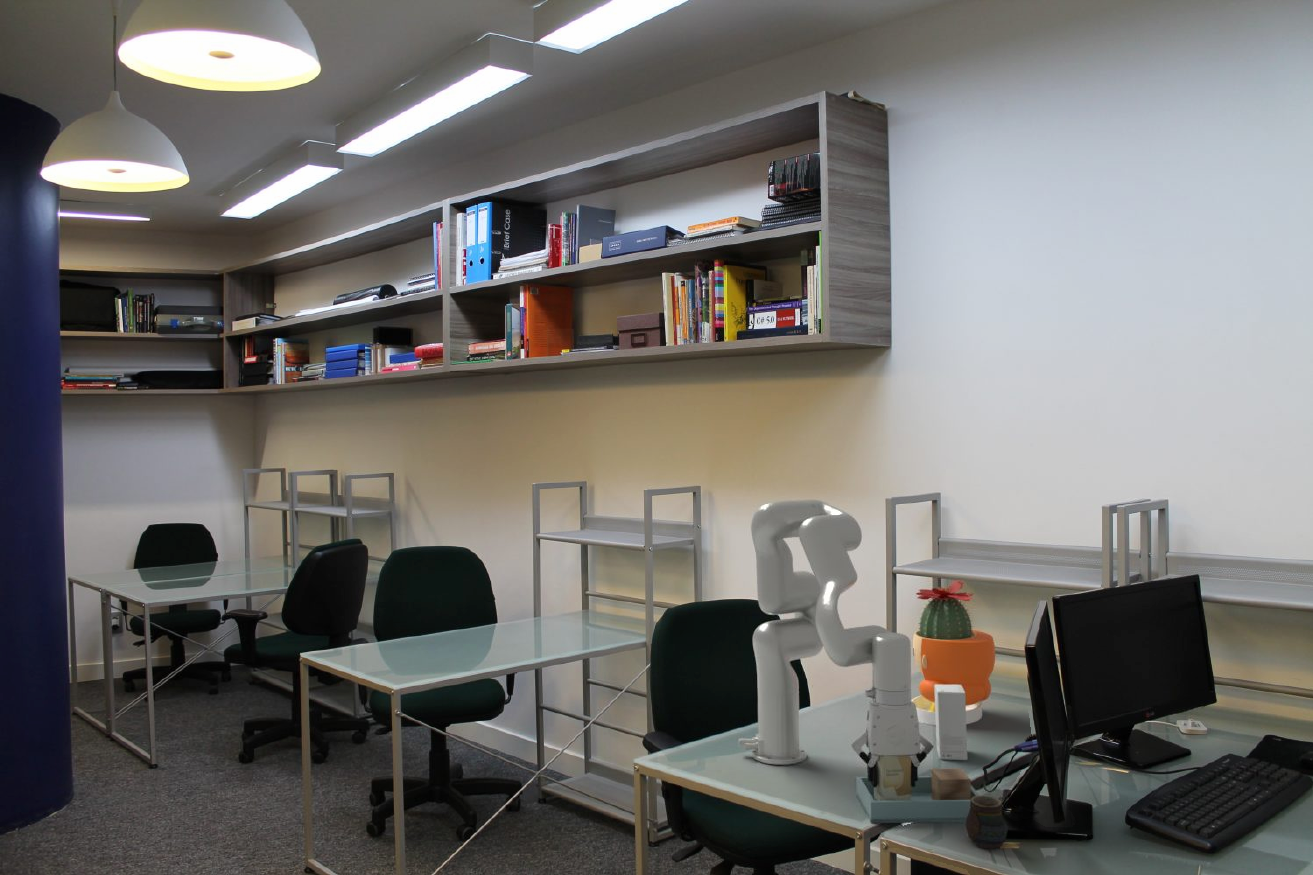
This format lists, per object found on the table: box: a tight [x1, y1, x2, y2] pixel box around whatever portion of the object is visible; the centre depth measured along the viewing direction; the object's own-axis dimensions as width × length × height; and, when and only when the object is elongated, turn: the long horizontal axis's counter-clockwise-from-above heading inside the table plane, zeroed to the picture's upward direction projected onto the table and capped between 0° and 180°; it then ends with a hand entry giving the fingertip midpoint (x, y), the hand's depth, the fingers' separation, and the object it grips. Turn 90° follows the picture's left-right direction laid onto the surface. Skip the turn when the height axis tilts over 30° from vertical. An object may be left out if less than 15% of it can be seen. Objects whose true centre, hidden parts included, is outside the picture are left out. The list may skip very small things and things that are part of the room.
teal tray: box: [855, 775, 981, 824], centre depth 194 cm, size 22×14×4 cm, turn 90°
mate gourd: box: [965, 794, 1008, 850], centre depth 177 cm, size 7×8×10 cm
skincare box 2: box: [934, 685, 968, 761], centre depth 226 cm, size 8×7×16 cm
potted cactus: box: [911, 580, 996, 726], centre depth 256 cm, size 22×22×35 cm
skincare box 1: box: [874, 755, 911, 801], centre depth 194 cm, size 6×4×12 cm
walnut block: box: [931, 768, 972, 800], centre depth 194 cm, size 6×6×6 cm
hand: (892, 783), depth 194 cm, fingers closed on skincare box 1, 7 cm apart
